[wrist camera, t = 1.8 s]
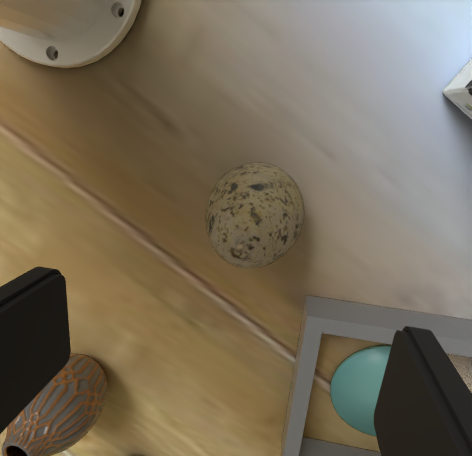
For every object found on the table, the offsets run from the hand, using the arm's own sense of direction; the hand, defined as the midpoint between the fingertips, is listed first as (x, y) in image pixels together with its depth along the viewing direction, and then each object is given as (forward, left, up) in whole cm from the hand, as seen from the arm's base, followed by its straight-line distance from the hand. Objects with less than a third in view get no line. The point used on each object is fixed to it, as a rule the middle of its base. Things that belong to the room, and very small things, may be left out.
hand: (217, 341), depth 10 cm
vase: (+19, -15, -17) cm, 30 cm away
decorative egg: (0, 0, -17) cm, 17 cm away
